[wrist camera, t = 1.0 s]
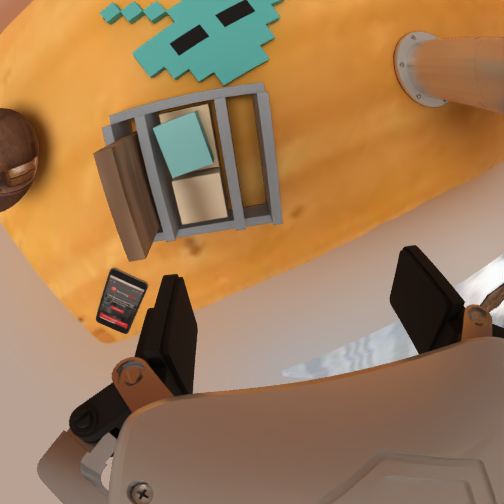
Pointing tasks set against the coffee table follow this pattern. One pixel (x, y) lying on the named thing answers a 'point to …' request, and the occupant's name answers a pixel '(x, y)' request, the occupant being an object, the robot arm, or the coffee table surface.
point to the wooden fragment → (494, 299)
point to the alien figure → (203, 36)
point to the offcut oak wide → (206, 121)
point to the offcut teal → (184, 144)
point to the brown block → (129, 194)
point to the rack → (238, 214)
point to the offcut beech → (201, 195)
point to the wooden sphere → (16, 157)
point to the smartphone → (120, 300)
